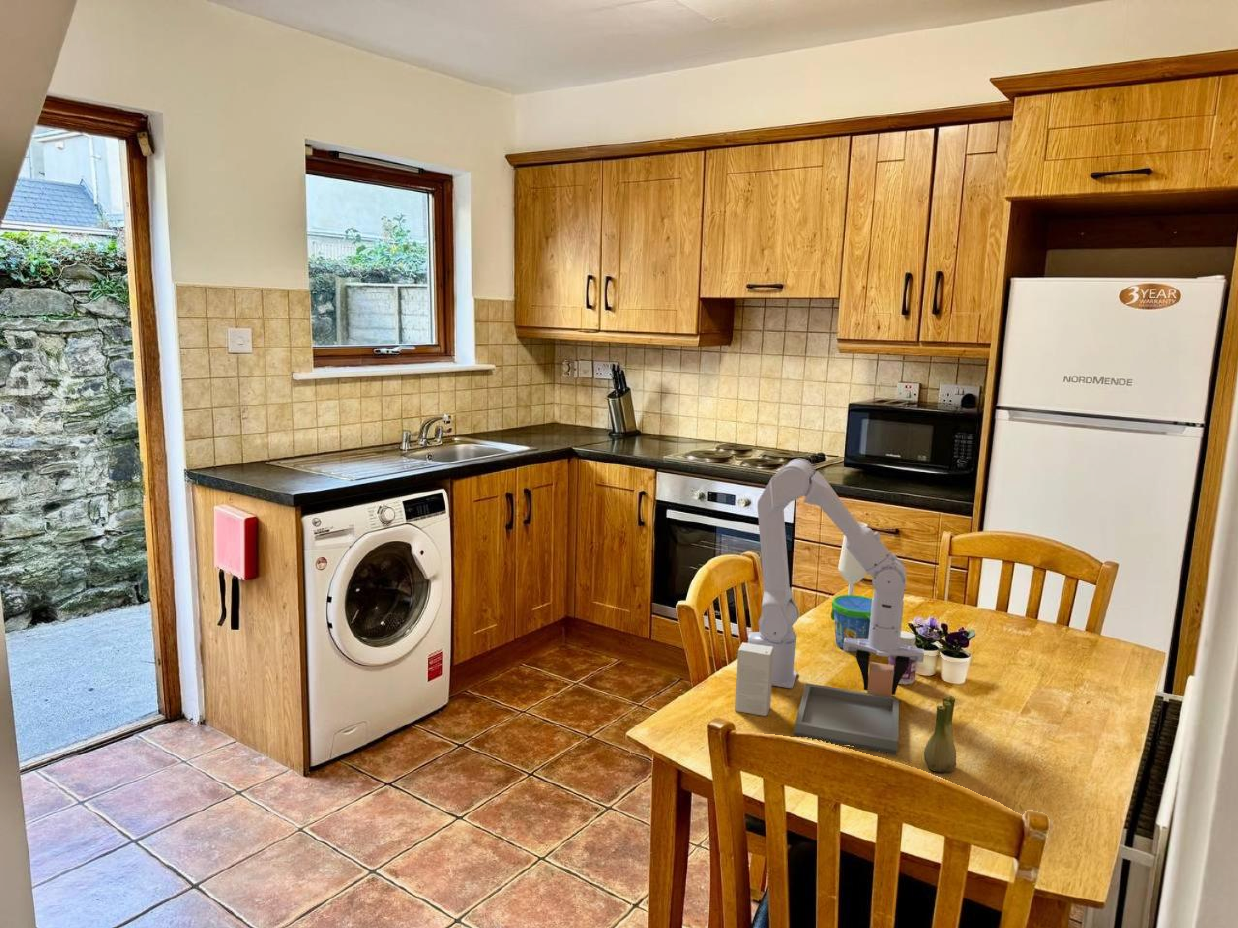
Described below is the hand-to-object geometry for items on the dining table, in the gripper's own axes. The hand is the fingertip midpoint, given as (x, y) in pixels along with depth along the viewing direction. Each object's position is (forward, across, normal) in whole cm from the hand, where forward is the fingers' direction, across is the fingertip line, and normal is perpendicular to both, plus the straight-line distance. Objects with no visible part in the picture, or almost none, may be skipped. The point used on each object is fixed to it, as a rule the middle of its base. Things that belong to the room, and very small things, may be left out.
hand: (879, 690), depth 164 cm
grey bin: (+1, -5, -13) cm, 14 cm away
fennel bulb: (+2, +10, -23) cm, 25 cm away
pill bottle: (+2, +4, +10) cm, 11 cm away
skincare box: (+2, -22, -14) cm, 26 cm away
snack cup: (+2, -6, +24) cm, 25 cm away
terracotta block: (+1, 0, 0) cm, 1 cm away
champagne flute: (+2, -8, +39) cm, 40 cm away
